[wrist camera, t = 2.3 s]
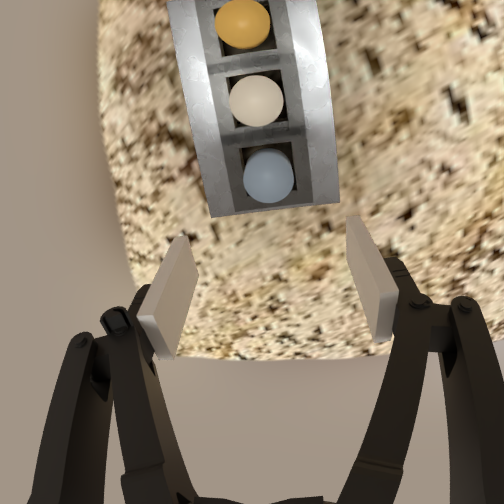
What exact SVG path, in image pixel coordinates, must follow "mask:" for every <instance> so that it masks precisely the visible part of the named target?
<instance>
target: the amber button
mask: <svg viewBox="0 0 504 504" xmlns="http://www.w3.org/2000/svg"><path fill="white" fill-rule="evenodd" d="M215 29H216V32H217V34H218V35H219V37H220V38H221V39H222V40H223V41H225V42H226V43H227V44H229V45H230V46H232V47H234V48H237V49H245V50H246V49H252V48H255V47H257V46H259V45H260V44H262V43H263V42H264V41H265V40H266V38H267V37H268V34H269V31H270V17H269V14H268V12H267V10H266V9H265V8H264V7H263V6H262V5H261V4H260V3H258V2H256V1H254V0H232V1H230V2H228V3H226V4H225V5H223V6H222V7H221V8H220V9H219V11H218V12H217V14H216V17H215Z"/></svg>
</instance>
